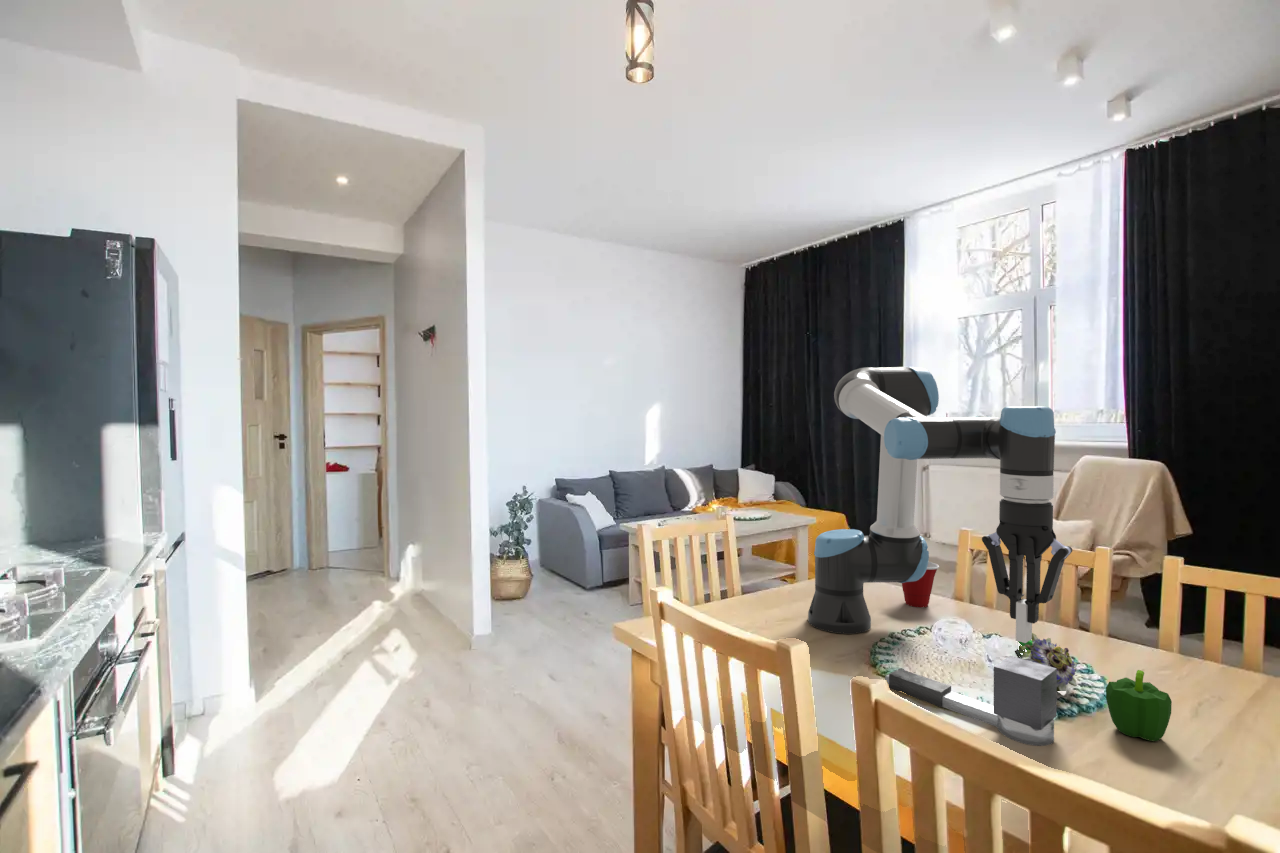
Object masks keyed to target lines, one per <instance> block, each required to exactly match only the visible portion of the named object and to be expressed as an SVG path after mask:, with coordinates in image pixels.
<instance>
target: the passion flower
mask: <svg viewBox="0 0 1280 853" xmlns="http://www.w3.org/2000/svg"><path fill="white" fill-rule="evenodd" d="M1031 640H1032V642H1033V643H1032V644H1033V645H1031V646H1029V645H1027V644H1026V645H1025V646H1026V647H1027V648H1028V649H1029V650H1027V652H1025V648H1026V647H1025V646H1021V645H1020V646H1019V650H1018V648H1016V650H1014V654H1015V655H1016V657H1017V658H1021V659H1024V660H1028V661H1032V662H1035V663H1039V664H1042V665H1046V666H1050V667H1053V668H1057V691H1067V686H1068V685H1070V686H1074V687H1077V685H1078V684H1077V681H1076V679H1075V677H1074V676H1078V675H1076V673H1077V674H1079V672H1078V671H1077V670H1075V669H1076V668H1077V666H1078V663H1077V662H1075V661H1074V660H1073V659H1072V657H1071V656H1070V653H1069V651H1070V650H1069V648H1068V647H1064V648H1062V647H1061V645H1060V644H1059V645H1057V643H1052V638H1051V637H1047V638H1043V639H1040V638H1039V637H1038V636H1037V634H1036V633H1034V632H1032V639H1031ZM1023 650H1024V651H1023ZM1020 653H1023V655H1021V654H1020ZM1019 656H1020V657H1019Z"/></svg>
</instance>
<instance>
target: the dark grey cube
mask: <svg viewBox="0 0 1280 853" xmlns="http://www.w3.org/2000/svg"><path fill="white" fill-rule="evenodd" d="M1057 695H1058V692H1057V668H1053V667H1050V666H1046V665H1042V664H1039V663H1035V662H1032V661H1028V660H1024V659H1021V658H1018V657H1017V656H1012V655H1009V656H1008V657H1006V658H1004V659H1003V660H1001V661H1000V662H997V664H995V665H994V666H993V706H994V714H996V715H999V716H1002V717H1005V718H1007V719H1010V720H1013V721H1016V722H1019V723H1022V724H1024V725H1027V726H1030V727H1033V728H1036V729H1039V730H1042V729H1043V728H1044V727H1045V726H1046V725H1047V724H1049V723H1050V722H1051V721H1052V720H1053V719H1054V720H1055V718H1056V717H1057V716H1058V714H1057V705H1058V704H1057V703H1058V702H1057V700H1058V699H1057V698H1058V697H1057Z"/></svg>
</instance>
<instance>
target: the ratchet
mask: <svg viewBox="0 0 1280 853" xmlns="http://www.w3.org/2000/svg"><path fill="white" fill-rule="evenodd" d="M884 677H885V678H884V679H885V680H887V682H888V684H889V687H890V688H889V687H888V688H889V689H890V690H893V691H895V690H896V692H898V691H902V692H904V693H906V694H907V695H906V694H905V695H906V696H909V695H910V696H909V697H911V696H912V698H915V699H916V700H917V699H918V700H920V701H922V702H925V703H928V704H930V705H934V706H936V707H938V708H944V709H948V710H950V711H952V712H955V713H958V714H961V715H964V716H966V717H968V718H971V719H974V720H977V721H980V722H982V723H985V724H988V725H991V726H993V727H996V728H997V730H998V731H999V733H1001V734H1002V735H1003V736H1005V738H1008V739H1010V740H1012V741H1015V742H1017V743H1020V744H1023V745H1029V746H1037V747H1043V746H1049V745H1052V744H1053V743H1054V741H1055V718H1054V719H1053V720H1052V721H1051V722H1050V723H1049V724H1047V725H1046V726H1045V727H1044V728H1043V729H1042V730H1039V729H1036V728H1033V727H1030V726H1027V725H1024V724H1022V723H1019V722H1016V721H1013V720H1010V719H1007V718H1005V717H1002V716H999V715H996V714H994V704H993V705H992V704H989V703H987V702H984V701H981V700H978V699H975V698H972V697H970V696H966V695H964V694H960V693H958V692H955V691H952V685H950V684H947V683H944V682H941V681H937V680H935V679H932V678H929V677H926V676H923V675H919V674H918V673H914V672H911V671H909V670H905V669H902V668H898V669H896V670H894V671H892V672H890V673H888V674H887V675H885V676H884ZM885 680H884V681H885Z"/></svg>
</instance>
